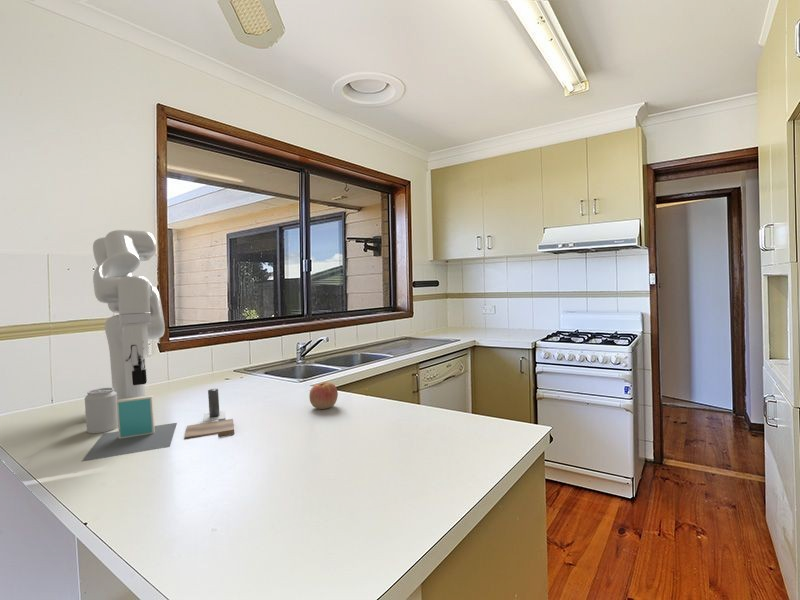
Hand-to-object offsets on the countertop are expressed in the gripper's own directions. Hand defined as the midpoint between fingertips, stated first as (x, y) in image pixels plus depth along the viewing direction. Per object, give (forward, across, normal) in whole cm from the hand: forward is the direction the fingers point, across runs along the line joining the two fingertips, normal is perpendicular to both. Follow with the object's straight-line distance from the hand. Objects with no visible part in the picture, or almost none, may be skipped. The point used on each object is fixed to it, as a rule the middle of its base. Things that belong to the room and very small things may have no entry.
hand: (139, 384), depth 119 cm
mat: (+13, +11, 0) cm, 17 cm away
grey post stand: (+13, 0, +19) cm, 23 cm away
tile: (+12, +7, 0) cm, 14 cm away
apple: (+14, +6, +51) cm, 53 cm away
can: (+13, -4, -10) cm, 17 cm away
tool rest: (+13, +12, +18) cm, 25 cm away
